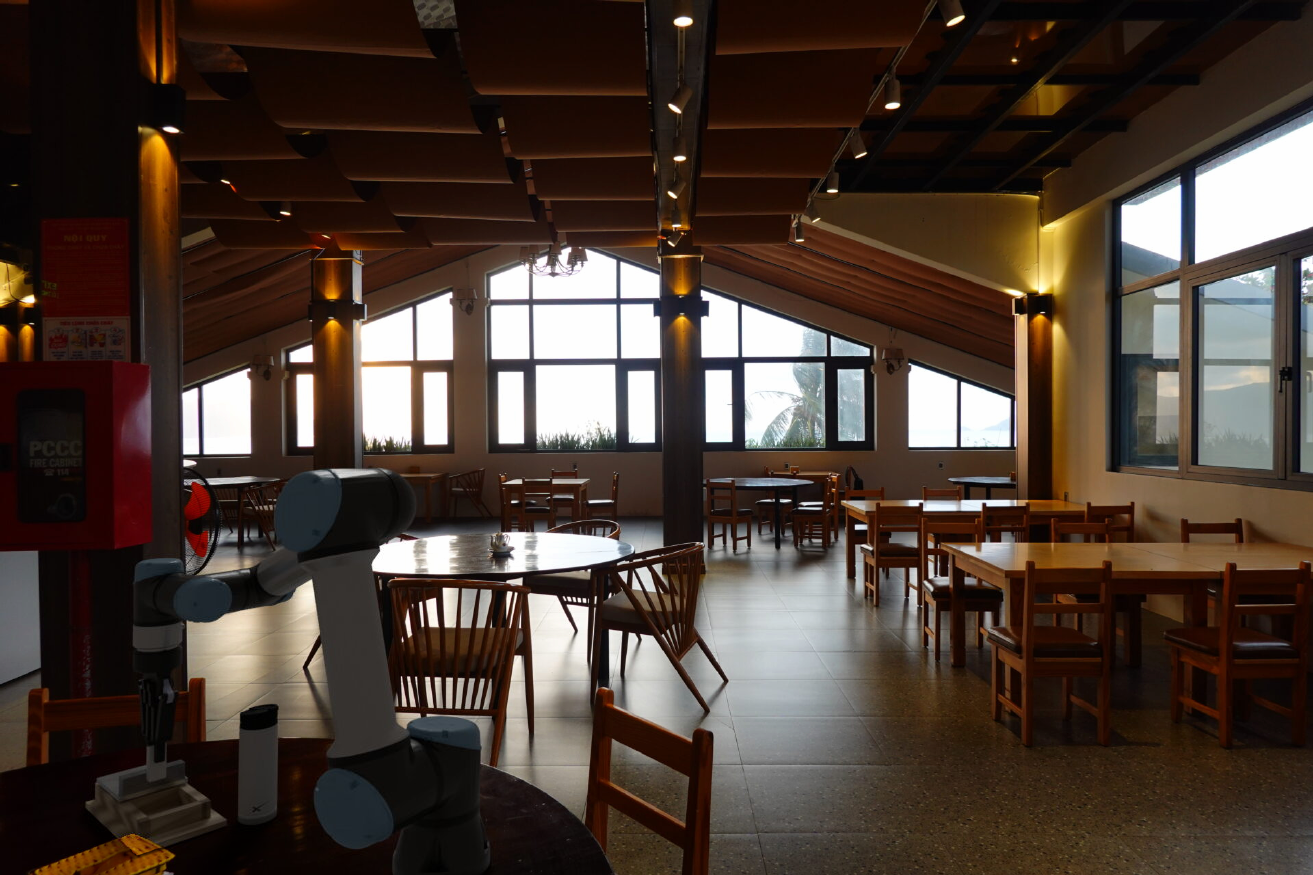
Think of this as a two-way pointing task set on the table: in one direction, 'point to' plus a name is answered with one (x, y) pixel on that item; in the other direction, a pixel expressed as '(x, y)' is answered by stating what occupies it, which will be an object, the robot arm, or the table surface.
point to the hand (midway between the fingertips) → (156, 778)
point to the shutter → (141, 781)
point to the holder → (157, 814)
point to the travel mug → (258, 764)
